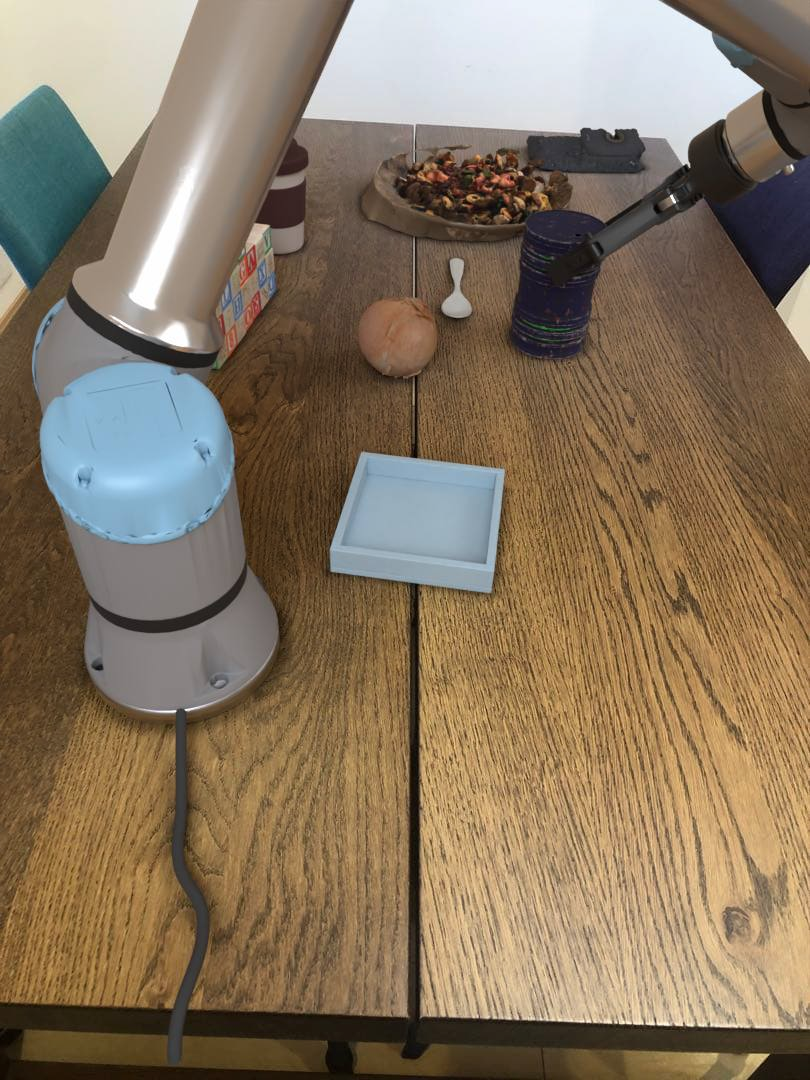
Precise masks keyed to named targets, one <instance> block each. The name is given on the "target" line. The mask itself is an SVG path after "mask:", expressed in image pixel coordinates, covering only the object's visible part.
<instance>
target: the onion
mask: <svg viewBox="0 0 810 1080" xmlns="http://www.w3.org/2000/svg"><path fill="white" fill-rule="evenodd" d="M430 310H431V309H429V308H428V305H425V302H424V301H422V299H420V298H418V297H413V296H410V297H409V296H404V297H403V296H402V297H386V298H382V299H379V300H377V301H375V302H374V303H371V304H370V305H369V306H368V307H367V309H366V310H365V311H364V313H363V314H362V316H361V318H360V319H359V322H358V328H357V334H356V335H357V342H358V346H359V349H360V351H361V353H362V355H363V356H364V358H365V359H366V360H367V364H369V365H371V366H372V367H373V368H374V369H375V370H376V371H377V372H378V373H381V375H382V376H384V375H385V376H387V377H393V378H395V379H397V378H401V377H402V378H403V379H404V380H405V379H407V380H409V378H410V377H413V376H417V375H419V374H420V373H421V372H422V371H423V369H424V368H425V366H427V364H429V362H431V360H432V358H433V356H434V355H435V352H436V349H437V344H438V329H437V325H436V322H435V317H434V316H433V314H432V313H431V311H430Z"/></svg>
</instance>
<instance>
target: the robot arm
mask: <svg viewBox="0 0 810 1080" xmlns="http://www.w3.org/2000/svg"><path fill="white" fill-rule="evenodd" d="M658 1H659V2H661V3H663V4H664V5H666V6H667V7H669V8H671V9H672V10H674V11H676V12H677V13H679V14H681V15H683V16H684V17H686V18H688V19H690V20H691V21H693V22H694V23H696V24H698V25H700V26H702V27H703V28H705V29H706V30H708V31H710V32H711V38H712V41H713V43H714V46H715V47H716V49H717V50H718V51H719V52H720V53H721V54H722V55H723V57H725V58H726V60H728V62H729V64H730V66H731V67H732V68H733V69H738V70H740V72H742V73H743V74H745V75H746V76H747V77H748V78H750V79H751V80H752V81H754V82H755V83H756V84H757V85H759V87H761V88H762V89H761V90H759V91H758V92H757V93H755V94H754V95H752V96H751V97H749V98H748V99H747V100H745V101H743V102H742V103H740V104H739V105H738V106H736V107H735V108H733V109H732V110H731V111H729V112H728V113H727V115H726V118H721V119H720V118H719V119H718V120H717V121H716V122H714V123H712V124H711V125H710V126H708V127H707V128H705V129H703V131H701V132H699V133H698V134H696V135H695V136H694V137H693V138H692V139H691V140H690V142H689V144H688V147H687V160H688V161H687V162H688V163H689V165H688V163H685V164H683V165H682V166H681V167H679V168H678V169H676V170H675V171H674V172H672V173H671V174H670V175H668V176H667V177H665V178H664V179H663V180H662V182H661V183H660V185H658V186H657V187H654V189H652V190H650V191H649V192H648V193H646V194H644V195H643V197H642V198H640V199H638V200H637V201H636V202H634V203H632V204H631V205H630V206H628V207H626V208H625V209H623V210H622V211H620V212H619V213H618V214H616V215H614V216H613V217H611V218H610V219H608V220H606V221H605V222H604V223H605V225H606V226H607V228H605V229H604V230H602V231H601V232H599V233H598V234H596V235H594V236H593V235H591V233H590V232H589V231H588V232H586V233H585V234H584V237H585V239H586V240H584V241H583V242H581V243H580V244H578V245H577V246H575V247H573V248H572V249H570V250H569V251H567V252H566V253H564V254H563V255H561V256H560V257H558V258H557V259H555V260H554V261H552V262H551V263H549V264H547V265H546V266H545V267H544V268H545V270H546V271H547V273H548V275H549V276H550V278H551V280H552V281H553V283H554V285H555V286H556V288H557V287H558V286H560V285H562V284H563V283H565V282H567V281H568V280H570V279H571V278H573V277H575V276H576V275H578V274H579V273H581V272H583V271H584V270H586V269H588V268H589V267H591V266H592V265H594V264H598V263H601V262H602V263H603V262H604V260H605V259H606V258H607V257H609V256H611V255H613V254H614V253H615V252H617V251H619V250H620V249H622V248H623V247H624V246H626V245H628V244H629V243H631V242H632V241H633V240H635V239H637V238H639V237H640V236H642V235H643V234H644V233H646V232H648V231H649V230H650V229H652V228H653V227H655V226H661V225H663V224H664V223H666V222H668V221H669V220H670V219H672V218H673V217H675V216H677V215H678V214H682V213H684V212H687V211H688V210H690V209H691V208H693V207H694V206H696V205H697V203H698V202H700V201H701V200H702V199H703V198H705V196H706V197H707V198H708V200H709V201H711V202H712V203H714V204H716V205H717V206H727V205H729V204H731V203H733V202H734V201H736V200H738V199H740V198H741V197H743V196H744V195H746V194H748V193H750V192H751V191H753V190H754V189H755V188H756V187H757V186H758V184H759V183H765V182H767V181H768V180H770V179H772V178H773V177H775V176H777V175H778V174H779V173H780V172H782V173H783V174H784V175H785V176H790V175H792V174H793V172H794V171H795V166H794V165H795V164H797V163H798V162H799V161H802V160H804V159H805V158H808V157H810V0H658ZM354 3H355V0H197V3H196V5H195V8H194V10H193V13H192V17H191V19H190V22H189V25H188V28H187V30H186V33H185V36H184V38H183V41H182V43H181V46H180V49H179V52H178V55H177V58H176V60H175V63H174V66H173V69H172V71H171V74H170V77H169V80H168V82H167V85H166V87H165V90H164V93H163V95H162V98H161V102H160V104H159V106H158V109H157V112H156V115H155V118H154V121H153V123H152V125H151V128H150V132H149V134H148V137H147V139H146V142H145V145H144V146H143V147H144V148H143V150H142V153H141V155H140V158H139V161H138V164H137V166H136V169H135V173H134V175H133V178H132V180H131V183H130V186H129V188H128V191H127V194H126V197H125V200H124V202H123V205H122V207H121V210H120V213H119V216H118V217H117V218H118V219H117V221H116V223H115V227H114V229H113V232H112V235H111V237H110V240H109V243H108V246H107V249H106V250H105V254H104V257H103V258H102V259H100V260H96V261H93V262H90V263H86V264H84V265H81V266H79V267H77V268H76V269H75V270H74V272H73V275H72V277H71V280H70V283H69V286H68V288H67V291H66V293H65V296H64V297H62V298H61V299H60V300H59V301H57V302H56V303H55V304H54V305H53V306H52V307H51V308H50V310H48V312H47V314H46V315H45V316H44V318H43V319H42V321H41V322H40V325H39V327H38V330H37V334H36V337H35V341H34V346H33V350H32V357H31V372H32V377H33V385H34V387H35V391H36V394H37V397H38V400H39V404H40V410H41V416H42V420H41V423H40V428H39V446H40V458H41V459H40V460H41V467H42V473H43V476H44V479H45V482H46V484H47V487H48V489H49V491H50V493H51V494H52V495H53V497H54V499H55V501H56V503H57V506H58V508H59V511H60V514H61V517H62V520H63V523H64V526H65V529H66V532H67V535H68V538H69V540H70V544H71V547H72V549H73V552H74V555H75V558H76V561H77V564H78V568H79V570H80V573H81V576H82V579H83V582H84V585H85V588H86V591H87V593H88V596H89V607H88V615H87V621H86V629H85V636H84V645H83V656H84V663H85V667H86V669H87V672H88V675H89V677H90V680H91V683H92V685H93V687H94V689H95V691H96V692H97V694H98V695H99V697H100V698H101V699H102V700H103V701H104V703H106V704H107V705H108V706H109V707H110V708H112V709H113V710H115V711H116V712H117V713H119V714H120V715H121V714H122V715H123V716H125V717H128V718H130V719H132V720H135V721H138V722H142V723H147V724H151V725H152V724H153V725H166V726H167V725H170V726H173V725H175V743H174V744H175V751H174V753H175V754H174V755H175V757H174V759H175V762H174V765H175V766H174V767H175V768H174V769H175V771H174V772H175V773H174V774H175V778H174V779H175V795H174V796H175V806H174V807H175V808H174V821H173V827H172V828H173V829H172V835H171V861H172V862H171V863H172V868H173V872H174V874H175V877H176V879H177V881H178V882H179V885H180V886H181V888H182V890H183V892H184V893H185V894H186V896H187V897H188V899H189V901H190V902H191V905H192V907H193V909H194V913H195V917H196V918H195V919H196V933H195V940H194V945H193V949H192V953H191V955H190V959H189V962H188V964H187V968H186V970H185V973H184V975H183V977H182V981H181V983H180V986H179V988H178V992H177V993H176V997H175V1001H174V1003H173V1007H172V1011H171V1014H170V1021H169V1024H168V1032H167V1033H168V1034H167V1045H166V1047H167V1048H166V1060H167V1062H168V1066H171V1067H175V1066H178V1065H179V1063H180V1062H181V1060H182V1055H183V1036H184V1027H185V1021H186V1016H187V1012H188V1008H189V1005H190V1002H191V999H192V995H193V993H194V990H195V988H196V985H197V981H198V979H199V976H200V973H201V971H202V969H203V965H204V962H205V959H206V955H207V951H208V945H209V940H210V924H211V923H210V912H209V911H210V910H209V906H208V903H207V900H206V897H205V895H204V894H203V892H202V890H201V889H200V887H199V886H198V884H197V883H196V881H195V880H194V878H193V876H192V875H191V873H190V872H189V868H188V866H187V864H186V860H185V859H186V858H185V851H184V850H185V849H184V845H185V835H186V826H187V818H188V817H187V814H188V769H187V768H188V767H187V766H188V765H187V764H188V763H187V762H188V761H187V756H188V755H187V754H188V753H187V751H188V750H187V748H188V747H187V746H188V745H187V743H188V742H187V741H188V740H187V737H188V736H187V732H188V731H187V724H192V723H196V722H202V721H204V720H207V719H210V718H213V717H216V716H218V715H221V714H223V713H225V712H228V711H229V710H231V709H233V708H234V707H236V706H238V705H239V704H241V703H242V702H243V701H245V700H246V699H248V698H249V697H250V696H251V695H253V694H254V693H255V692H256V691H257V690H258V689H259V688H260V687H261V686H262V684H263V683H264V682H265V681H266V680H267V678H268V676H269V675H270V674H271V672H272V670H273V669H274V668H273V667H274V666H275V664H276V661H277V658H278V655H279V651H280V644H281V642H280V640H281V639H280V628H279V619H278V614H277V610H276V607H275V604H274V603H273V601H272V600H271V598H270V596H269V595H268V593H267V592H266V591H265V587H264V585H263V581H262V579H261V578H260V577H258V576H257V575H255V573H254V572H253V570H252V569H251V567H250V565H249V564H248V560H247V553H246V545H245V537H244V532H243V525H242V517H241V511H240V502H239V496H238V489H237V481H236V474H235V473H236V472H235V468H236V467H235V463H236V461H235V460H236V458H235V457H236V456H235V445H234V441H233V435H232V432H231V429H230V427H229V425H228V422H227V420H226V417H225V416H226V415H225V414H224V410H223V408H222V406H221V403H220V402H219V400H218V399H217V398H216V396H215V394H214V393H213V392H212V391H211V390H210V389H209V387H207V386H206V383H207V381H208V379H209V376H210V374H211V372H212V370H213V369H212V368H213V366H214V363H215V361H216V359H217V356H218V354H219V352H220V350H221V348H222V346H223V343H224V339H225V336H224V333H223V330H222V328H221V326H220V323H219V321H218V318H217V316H216V312H215V311H216V308H217V306H218V304H219V302H220V300H221V297H222V295H223V293H224V291H225V288H226V286H227V284H228V282H229V279H230V277H231V275H232V273H233V270H234V268H235V266H236V264H237V261H238V259H239V257H240V255H241V253H242V250H243V248H244V246H245V244H246V241H247V239H248V237H249V235H250V232H251V230H252V228H253V226H254V224H255V221H256V219H257V217H258V215H259V212H260V210H261V208H262V206H263V204H264V201H265V199H266V197H267V195H268V192H269V190H270V188H271V186H272V183H273V181H274V179H275V177H276V175H277V172H278V170H279V168H280V166H281V163H282V161H283V159H284V157H285V154H286V152H287V150H288V148H289V146H290V143H291V141H292V139H293V138H295V137H294V136H295V134H296V132H297V130H298V128H299V125H300V123H301V120H302V119H303V117H304V114H305V112H306V109H307V107H308V105H309V103H310V101H311V99H312V96H313V95H314V93H315V90H316V88H317V85H318V83H319V81H320V79H321V77H322V74H323V72H324V69H325V67H326V65H327V63H328V61H329V58H330V56H331V54H332V52H333V50H334V47H335V45H336V44H337V41H338V39H339V36H340V34H341V32H342V30H343V27H344V25H345V22H346V21H347V19H348V17H349V14H350V11H351V9H352V8H353V5H354ZM602 263H601V264H602Z"/></svg>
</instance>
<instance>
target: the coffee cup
mask: <svg viewBox="0 0 810 1080" xmlns="http://www.w3.org/2000/svg"><path fill="white" fill-rule="evenodd" d="M309 161H310V159H309V151H308V150H307V148H305V147H304V146H303V145H299V143H298V141H297V139H295V137H293V139H292V141H291V143H290V146H289V148H288V150H287V152H286V154H285V157H284V159H283V161H282V163H281V166H280V168H279V170H278V172H277V175H276V177H275V179H274V181H273V183H272V186H271V188H270V190H269V192H268V195H267V197H266V199H265V201H264V204H263V206H262V208H261V210H260V212H259V215H258V217H257V219H256V221H255V223H257V224H265V225H270V231H271V242H272V248H273V255H287V254H292V253H295V252H297V251H299V250H301V248H302V247H303V245H304V241H305V240H304V239H305V235H304V234H305V219H306V206H307V204H306V203H307V201H306V200H307V198H306V197H307V179H306V176H305V169H306V168H308V166H309V163H310V162H309Z"/></svg>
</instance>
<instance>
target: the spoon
mask: <svg viewBox="0 0 810 1080" xmlns="http://www.w3.org/2000/svg"><path fill="white" fill-rule="evenodd" d="M464 266H465V261H464V260H463V259H461V258H459V257H454V258H451V259H450V260H449V268H450V275H451V277H452V280H453V283H454V290H453V292H452V293H451V294H449V296H448V297H447V298H446V299H445V300H443V302H442V304H441V307H440V308H441V309H440V310H441V312H442V313H443V314H444V315H445V316H448V317H451V318H456V319H460V318H461V319H462V318H467V317H469V316H470V315H471V314H472V313H473V308H472V304H471V302H469V300H468V299H467V298H466V297H465V296H464V295H463V293H462V291H461V281H462V277H463V274H464V268H465V267H464Z"/></svg>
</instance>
